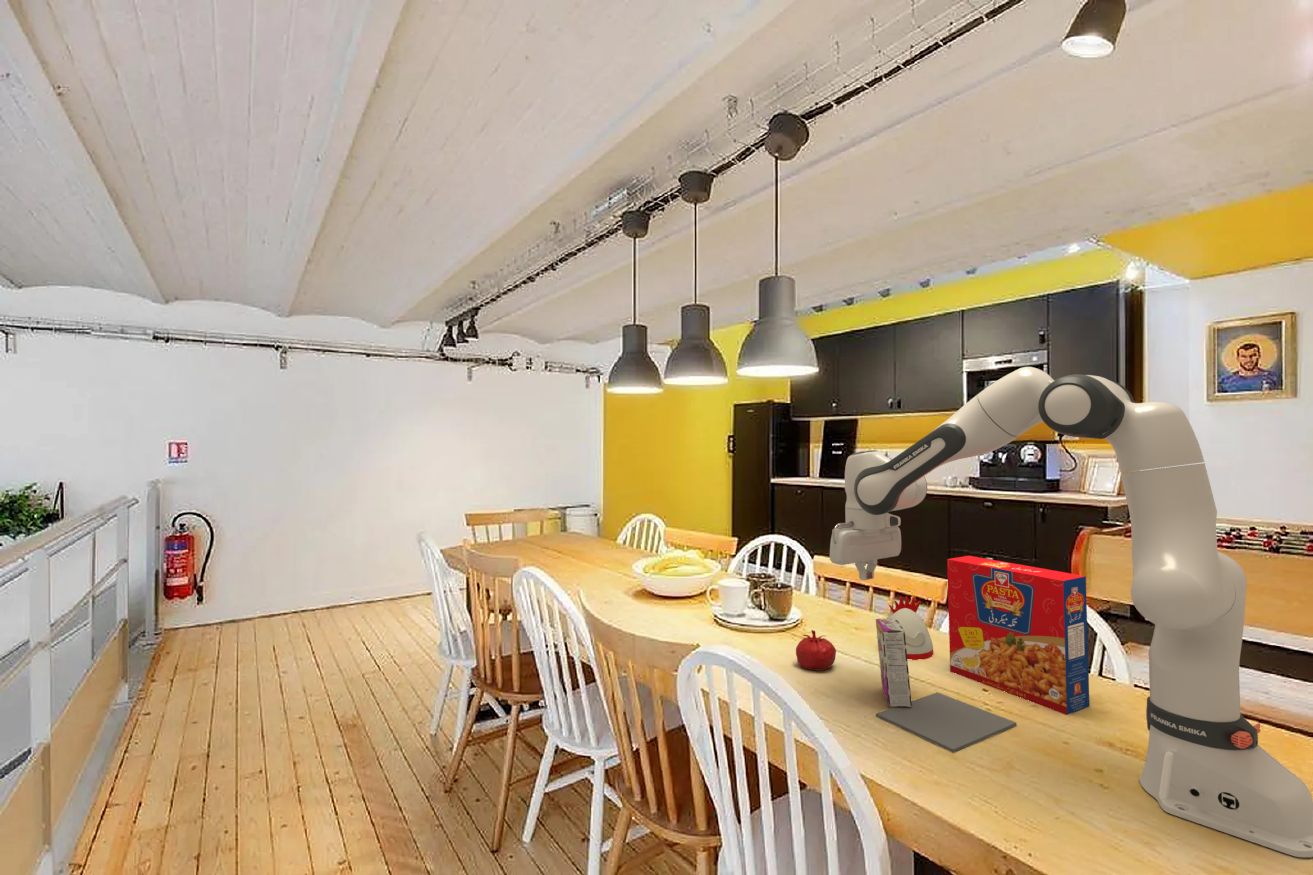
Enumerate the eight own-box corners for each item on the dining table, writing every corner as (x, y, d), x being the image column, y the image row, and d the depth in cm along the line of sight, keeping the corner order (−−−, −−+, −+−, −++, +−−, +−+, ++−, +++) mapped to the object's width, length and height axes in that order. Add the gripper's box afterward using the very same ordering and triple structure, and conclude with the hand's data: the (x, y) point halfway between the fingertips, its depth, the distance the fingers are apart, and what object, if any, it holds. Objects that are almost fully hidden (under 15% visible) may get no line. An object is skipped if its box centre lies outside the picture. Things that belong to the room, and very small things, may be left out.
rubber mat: (1016, 725, 125) (1016, 722, 125) (953, 752, 115) (953, 749, 115) (937, 694, 141) (937, 692, 141) (875, 716, 131) (875, 713, 131)
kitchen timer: (942, 659, 163) (940, 602, 163) (889, 661, 163) (887, 603, 163) (920, 642, 177) (919, 589, 177) (871, 643, 177) (870, 590, 177)
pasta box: (950, 671, 155) (947, 559, 155) (971, 665, 158) (968, 555, 158) (1066, 715, 129) (1063, 580, 130) (1089, 706, 133) (1085, 576, 133)
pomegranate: (827, 677, 154) (826, 640, 153) (789, 668, 160) (788, 632, 159) (842, 664, 161) (841, 628, 161) (805, 656, 168) (804, 622, 167)
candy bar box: (880, 689, 145) (874, 618, 146) (903, 690, 144) (897, 617, 145) (888, 708, 134) (881, 630, 135) (912, 708, 133) (906, 630, 134)
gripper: (843, 525, 137) (844, 588, 137) (905, 517, 147) (906, 576, 148) (822, 522, 143) (823, 582, 143) (884, 515, 153) (885, 571, 153)
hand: (866, 579), depth 145 cm, fingers closed
